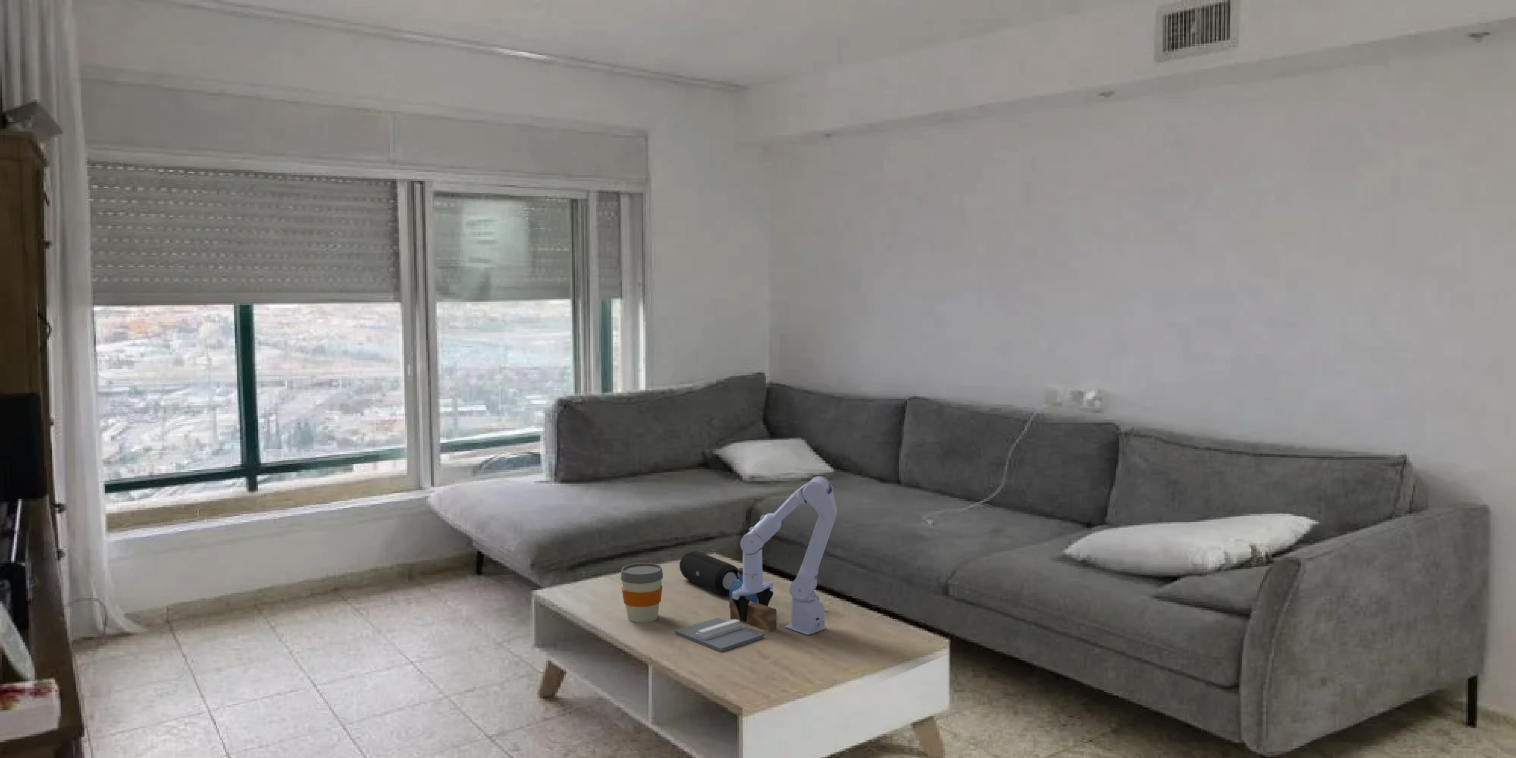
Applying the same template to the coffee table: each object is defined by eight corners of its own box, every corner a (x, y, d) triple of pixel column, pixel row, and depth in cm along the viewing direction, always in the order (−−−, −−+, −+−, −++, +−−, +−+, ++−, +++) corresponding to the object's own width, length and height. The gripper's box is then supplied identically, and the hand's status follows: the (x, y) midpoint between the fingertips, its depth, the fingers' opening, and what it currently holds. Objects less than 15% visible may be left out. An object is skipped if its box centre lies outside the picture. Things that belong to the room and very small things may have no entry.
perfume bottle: (745, 611, 316) (745, 573, 315) (729, 608, 320) (729, 570, 318) (757, 606, 321) (757, 568, 320) (741, 602, 325) (741, 565, 323)
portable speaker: (677, 581, 349) (676, 551, 348) (702, 575, 354) (702, 547, 353) (719, 600, 328) (718, 569, 327) (745, 594, 334) (744, 563, 333)
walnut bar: (776, 629, 301) (776, 609, 300) (769, 631, 299) (769, 611, 298) (737, 616, 312) (737, 597, 311) (730, 619, 310) (730, 599, 309)
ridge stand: (763, 637, 293) (763, 627, 293) (720, 652, 282) (720, 641, 282) (717, 620, 308) (717, 611, 308) (674, 633, 297) (674, 623, 297)
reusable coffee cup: (656, 625, 304) (655, 575, 303) (615, 623, 307) (614, 573, 305) (668, 612, 316) (668, 563, 315) (629, 609, 319) (628, 561, 317)
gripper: (761, 564, 312) (761, 609, 313) (724, 574, 302) (725, 620, 303) (777, 569, 307) (778, 614, 308) (741, 579, 297) (741, 626, 298)
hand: (753, 617), depth 305 cm, fingers open, 7 cm apart
